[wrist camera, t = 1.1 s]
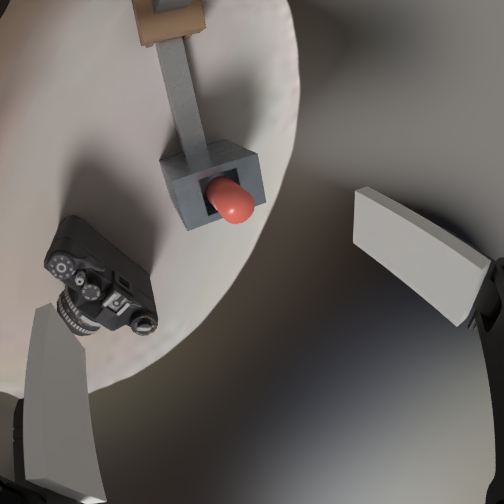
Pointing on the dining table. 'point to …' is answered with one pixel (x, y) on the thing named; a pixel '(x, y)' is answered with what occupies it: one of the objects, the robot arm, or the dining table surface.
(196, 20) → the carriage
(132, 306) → the camera
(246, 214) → the plunger
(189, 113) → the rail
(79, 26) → the dining table surface
